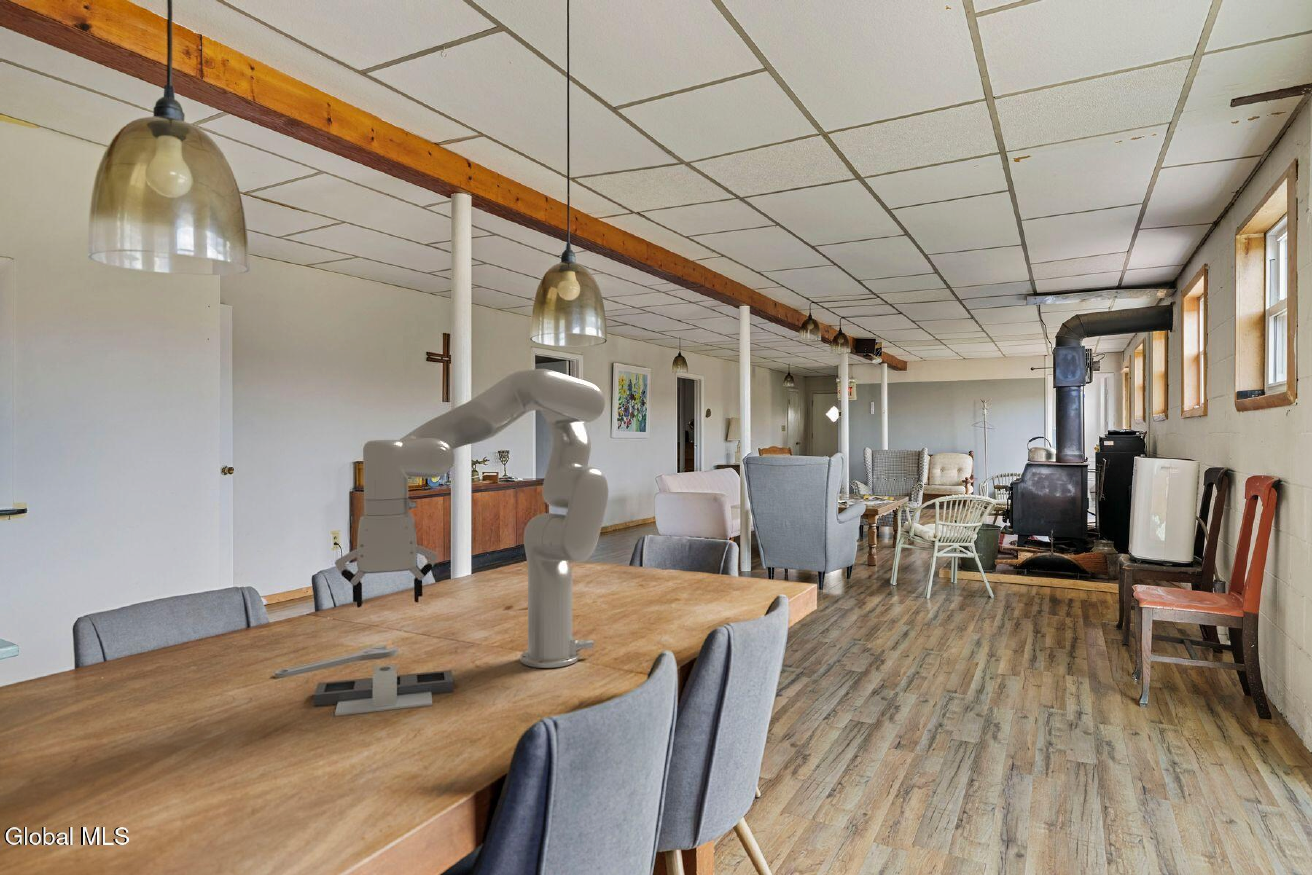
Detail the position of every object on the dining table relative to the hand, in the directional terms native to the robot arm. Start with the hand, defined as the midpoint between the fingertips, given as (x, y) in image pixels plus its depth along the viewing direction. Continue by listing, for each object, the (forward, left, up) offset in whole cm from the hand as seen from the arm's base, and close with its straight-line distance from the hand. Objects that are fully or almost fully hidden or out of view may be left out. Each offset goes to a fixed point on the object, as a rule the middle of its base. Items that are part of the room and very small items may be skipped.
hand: (388, 603), depth 130 cm
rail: (0, -6, -18) cm, 19 cm away
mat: (0, 0, -18) cm, 18 cm away
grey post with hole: (+1, 0, -18) cm, 18 cm away
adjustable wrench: (+11, -29, -19) cm, 36 cm away
